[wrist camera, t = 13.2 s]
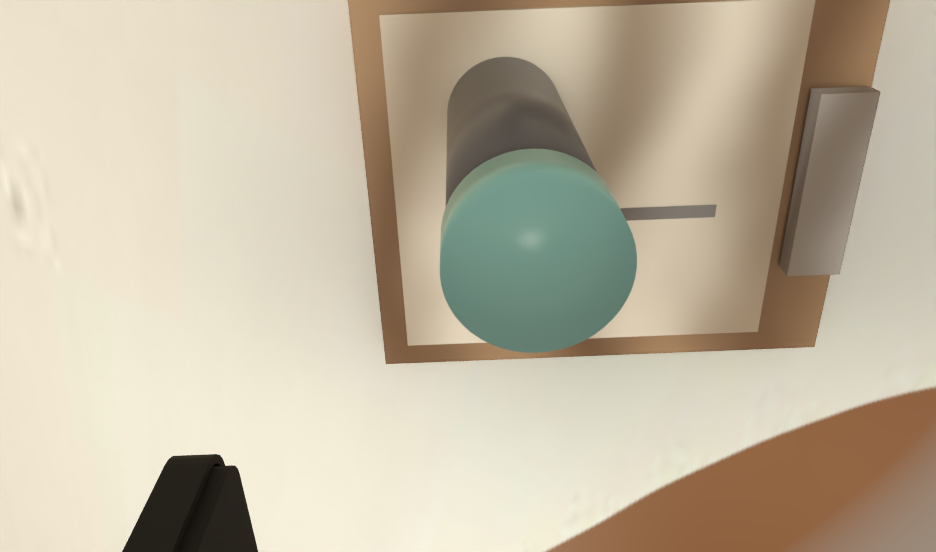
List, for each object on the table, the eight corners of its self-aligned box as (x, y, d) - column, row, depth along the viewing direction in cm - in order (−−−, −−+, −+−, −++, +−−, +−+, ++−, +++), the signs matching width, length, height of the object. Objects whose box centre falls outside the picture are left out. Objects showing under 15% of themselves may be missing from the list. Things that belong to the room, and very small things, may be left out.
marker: (565, 51, 25) (644, 173, 15) (562, 168, 27) (630, 349, 17) (441, 56, 25) (434, 181, 15) (447, 173, 27) (444, 356, 17)
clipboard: (882, -42, 25) (915, -36, 24) (804, 333, 32) (824, 360, 31) (349, -21, 25) (342, -13, 24) (387, 350, 32) (383, 378, 31)
